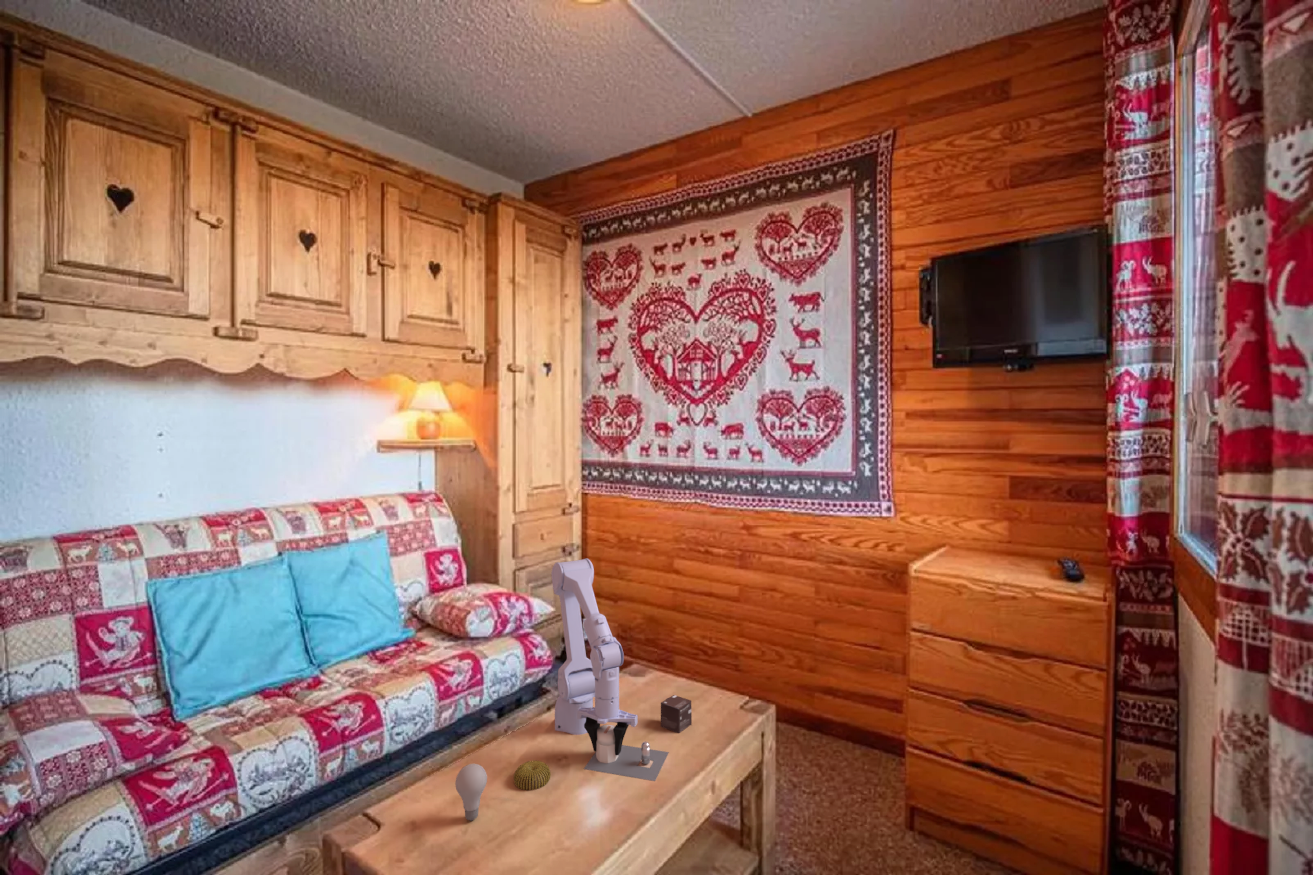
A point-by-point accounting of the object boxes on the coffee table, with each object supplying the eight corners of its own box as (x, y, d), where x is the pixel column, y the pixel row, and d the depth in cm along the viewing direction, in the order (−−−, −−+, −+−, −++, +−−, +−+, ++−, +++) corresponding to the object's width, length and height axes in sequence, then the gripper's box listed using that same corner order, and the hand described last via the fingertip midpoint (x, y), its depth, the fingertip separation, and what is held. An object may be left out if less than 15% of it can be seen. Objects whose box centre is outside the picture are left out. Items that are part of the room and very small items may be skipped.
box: (678, 737, 152) (678, 709, 152) (659, 730, 156) (659, 702, 156) (692, 727, 157) (692, 700, 157) (673, 721, 161) (673, 694, 160)
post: (640, 763, 138) (640, 743, 138) (642, 758, 140) (642, 739, 140) (648, 764, 138) (648, 744, 137) (651, 759, 140) (650, 740, 139)
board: (583, 773, 137) (583, 768, 137) (602, 745, 148) (602, 742, 148) (655, 785, 132) (655, 781, 132) (668, 756, 144) (668, 752, 143)
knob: (594, 761, 140) (593, 732, 140) (601, 750, 144) (601, 722, 144) (613, 764, 138) (613, 735, 138) (620, 753, 143) (620, 725, 143)
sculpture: (526, 782, 127) (506, 766, 133) (526, 800, 127) (506, 784, 133) (557, 767, 132) (537, 752, 138) (557, 785, 133) (537, 770, 138)
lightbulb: (476, 806, 125) (475, 754, 125) (493, 818, 121) (493, 764, 121) (449, 821, 120) (449, 767, 120) (467, 834, 116) (466, 778, 116)
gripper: (571, 698, 139) (572, 755, 140) (630, 706, 135) (631, 765, 136) (583, 685, 146) (584, 740, 146) (640, 692, 142) (640, 749, 142)
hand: (607, 751), depth 141 cm, fingers closed on knob, 5 cm apart
